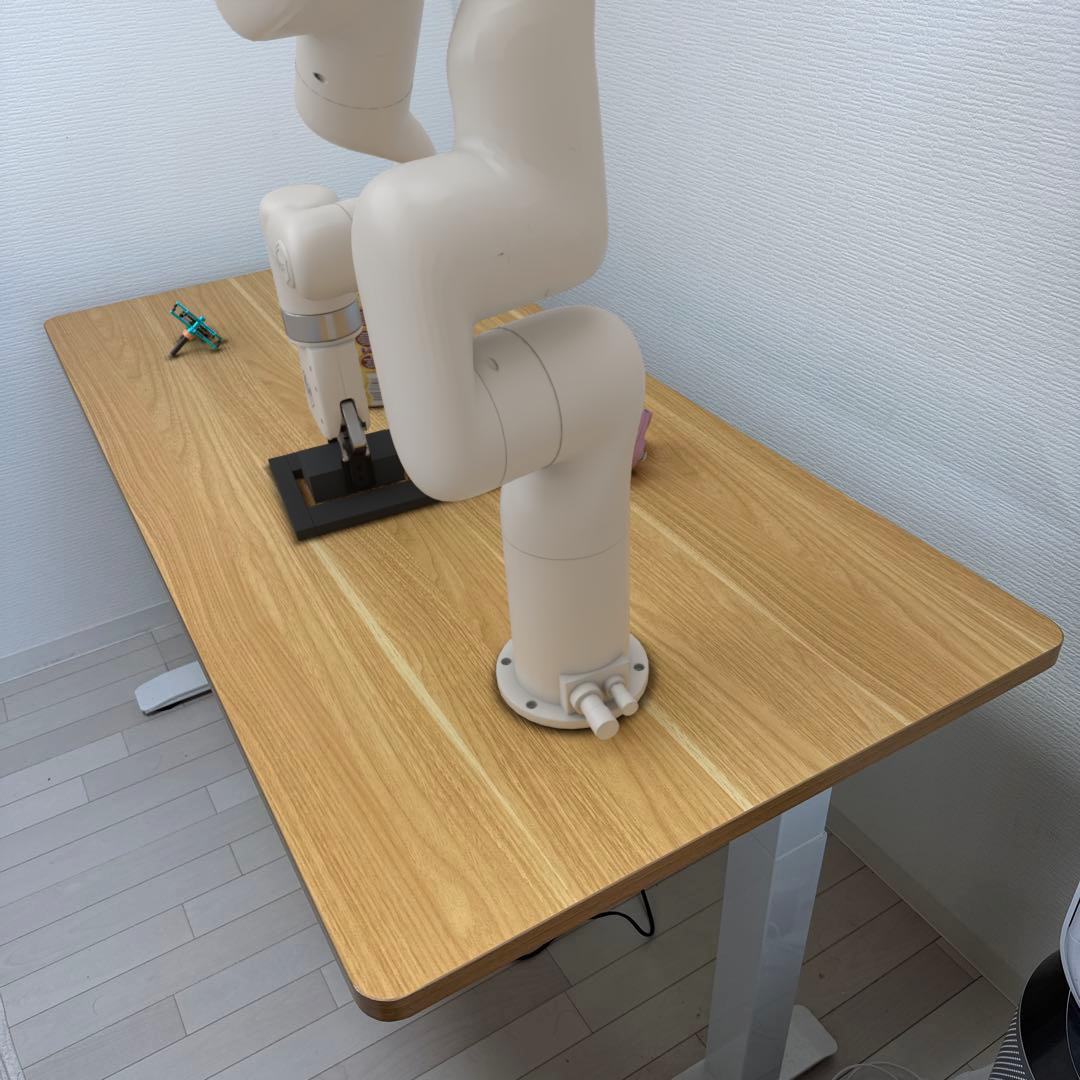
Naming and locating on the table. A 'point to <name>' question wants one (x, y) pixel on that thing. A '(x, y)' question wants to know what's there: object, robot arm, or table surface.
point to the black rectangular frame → (340, 501)
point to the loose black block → (327, 472)
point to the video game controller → (641, 438)
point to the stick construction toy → (192, 329)
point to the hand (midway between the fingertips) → (353, 472)
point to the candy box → (367, 364)
